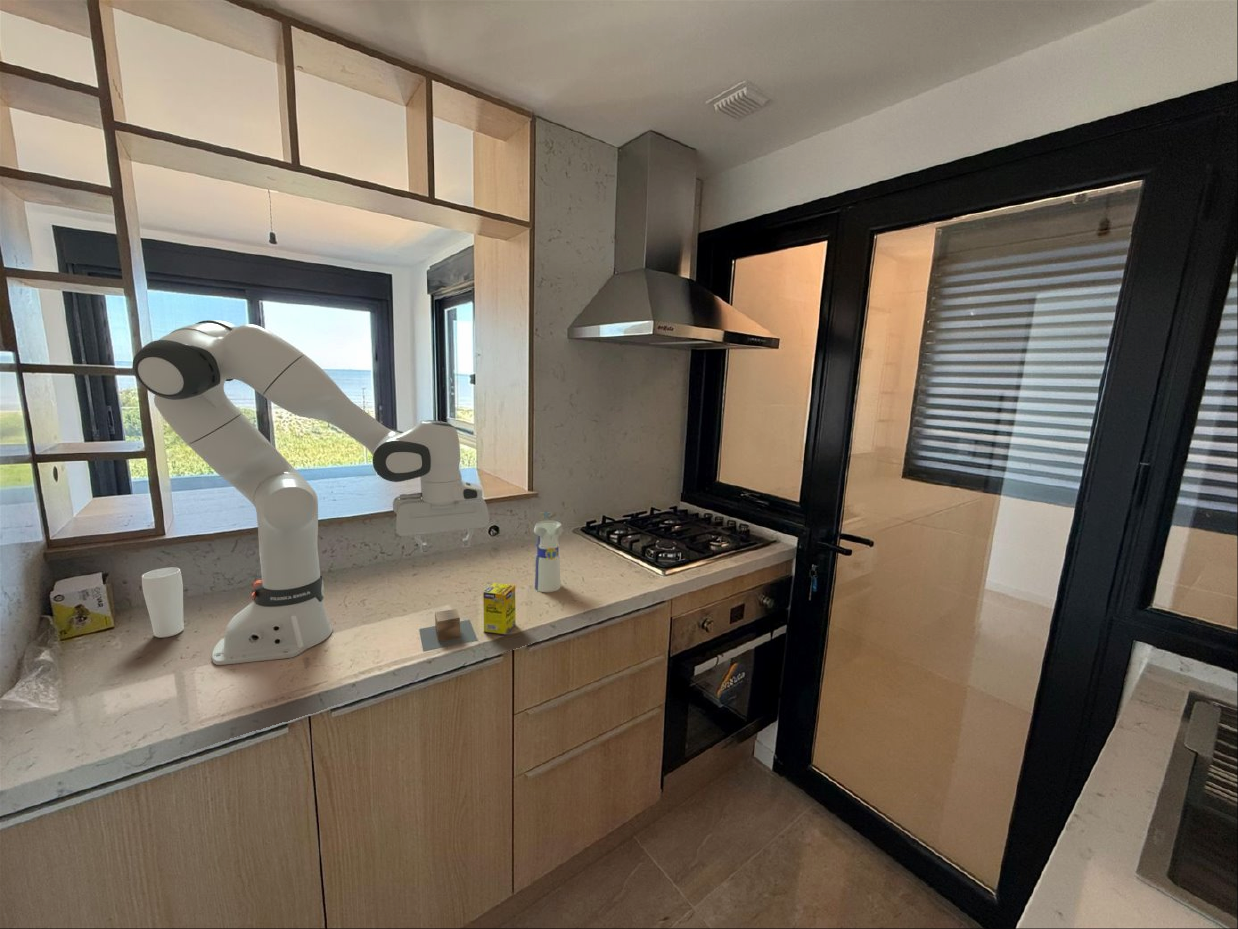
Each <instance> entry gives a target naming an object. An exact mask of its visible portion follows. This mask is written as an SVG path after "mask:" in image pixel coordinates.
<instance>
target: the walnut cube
mask: <svg viewBox="0 0 1238 929" xmlns="http://www.w3.org/2000/svg"><path fill="white" fill-rule="evenodd" d="M434 619H435V620H434V621H435V622H434V623H435V625H434V626H435V627H436V635H437V639H438V642H439V641H444V640H449V639H454V638H459V637H460V621H461V616H460V615H459V611H458V608H453V609H447V610H442V611H435V612H434Z"/></svg>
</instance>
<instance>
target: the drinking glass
mask: <svg viewBox="0 0 1238 929" xmlns="http://www.w3.org/2000/svg"><path fill="white" fill-rule="evenodd" d="M141 587H142V592H143V596H144V601H145V605H146V608H147V611H148V615H149V619H150V623H151V626H152V633H153V635H154V637H156V638H161V639H162V638H163V639H164V638H169V637H173V636H176V635H178V634H180V633H182V631H183V632H184V630H185V622H184V588H183V587H184V585H183V577H182V572H181V568H179V567H173V566H172V567H162V568H157V569H153V570H150V571H148V572H145V573H143V574H142V575H141Z"/></svg>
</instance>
